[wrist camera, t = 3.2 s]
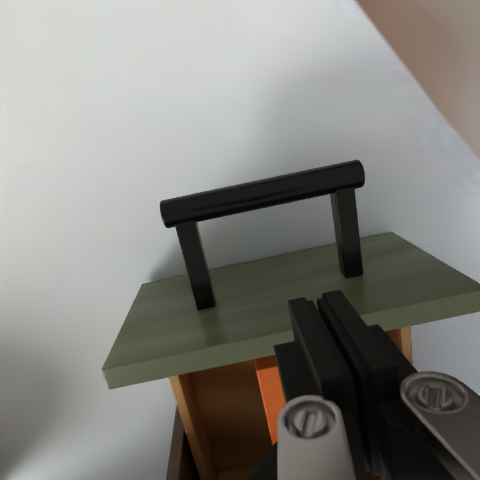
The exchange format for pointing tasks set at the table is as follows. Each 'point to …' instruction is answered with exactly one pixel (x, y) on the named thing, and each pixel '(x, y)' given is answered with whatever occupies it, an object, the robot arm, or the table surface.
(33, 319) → the table surface
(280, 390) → the orange rectangular block
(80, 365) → the table surface
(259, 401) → the drawer
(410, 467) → the robot arm
